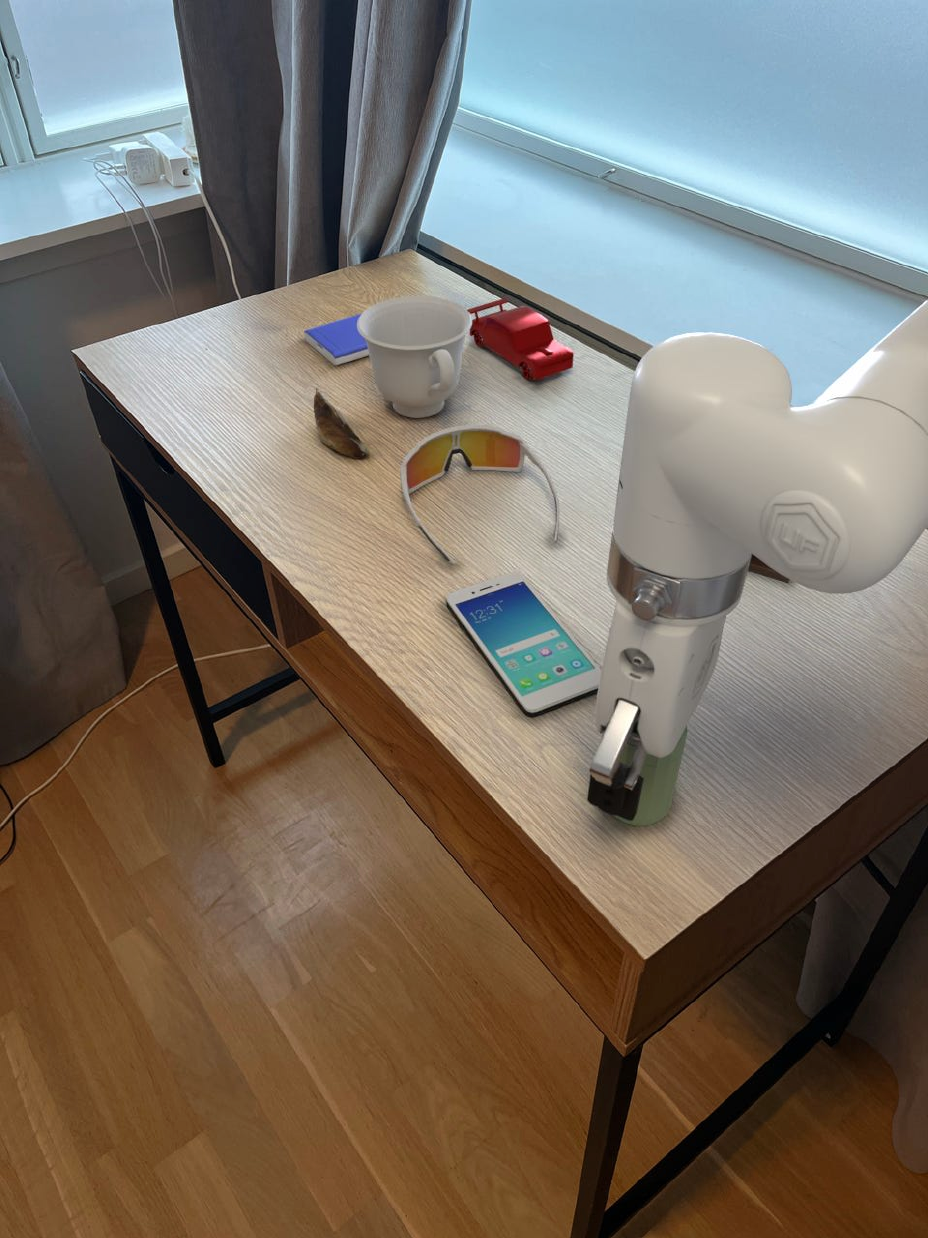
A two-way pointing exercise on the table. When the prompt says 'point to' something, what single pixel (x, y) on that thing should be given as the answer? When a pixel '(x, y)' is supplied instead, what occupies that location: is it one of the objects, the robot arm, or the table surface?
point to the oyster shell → (336, 429)
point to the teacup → (415, 350)
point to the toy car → (521, 340)
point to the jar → (655, 782)
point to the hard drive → (338, 340)
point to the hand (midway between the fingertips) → (639, 756)
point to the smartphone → (525, 643)
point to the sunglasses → (479, 452)
